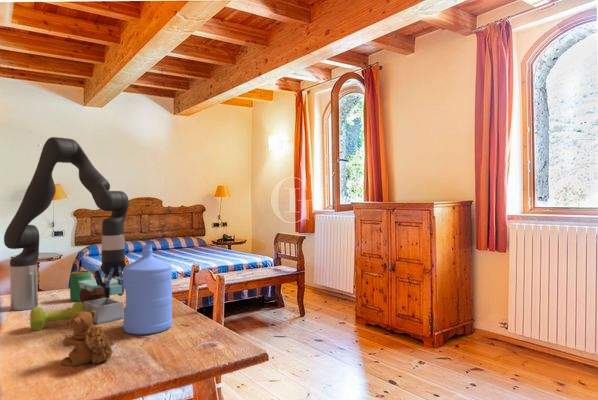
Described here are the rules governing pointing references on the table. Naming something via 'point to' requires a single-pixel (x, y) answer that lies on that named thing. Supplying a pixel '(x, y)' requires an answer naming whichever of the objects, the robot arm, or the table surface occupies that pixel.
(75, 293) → the beverage can
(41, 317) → the dumbbell
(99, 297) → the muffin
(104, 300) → the tub
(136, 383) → the table surface
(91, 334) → the stuffed squirrel
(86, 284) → the teal flat paddle shape
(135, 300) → the water jug
